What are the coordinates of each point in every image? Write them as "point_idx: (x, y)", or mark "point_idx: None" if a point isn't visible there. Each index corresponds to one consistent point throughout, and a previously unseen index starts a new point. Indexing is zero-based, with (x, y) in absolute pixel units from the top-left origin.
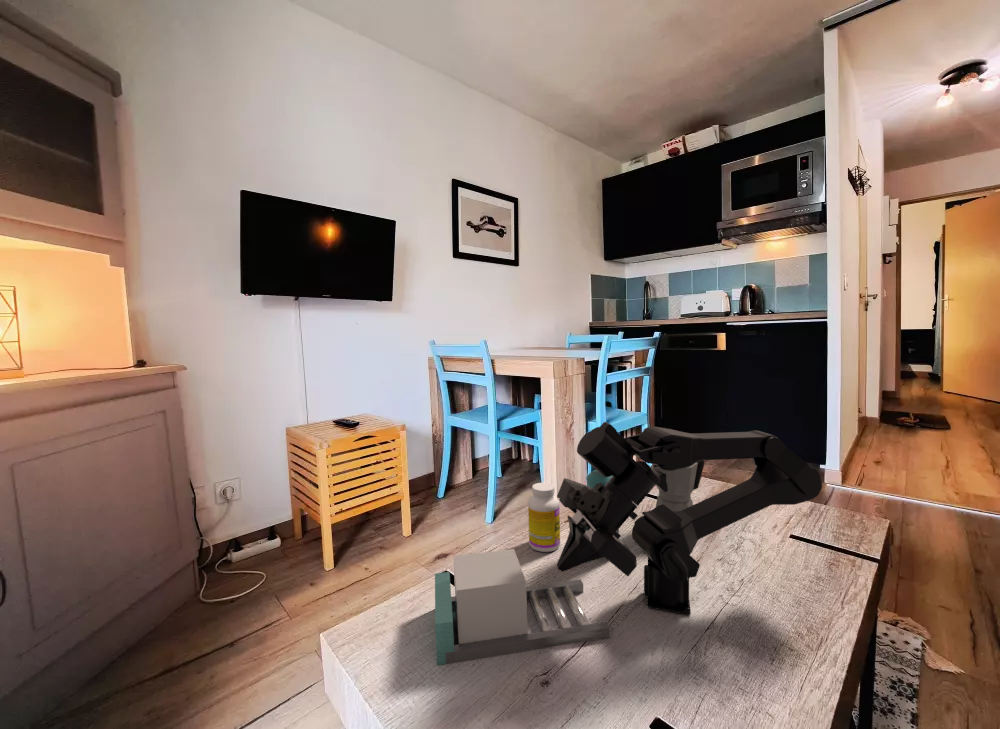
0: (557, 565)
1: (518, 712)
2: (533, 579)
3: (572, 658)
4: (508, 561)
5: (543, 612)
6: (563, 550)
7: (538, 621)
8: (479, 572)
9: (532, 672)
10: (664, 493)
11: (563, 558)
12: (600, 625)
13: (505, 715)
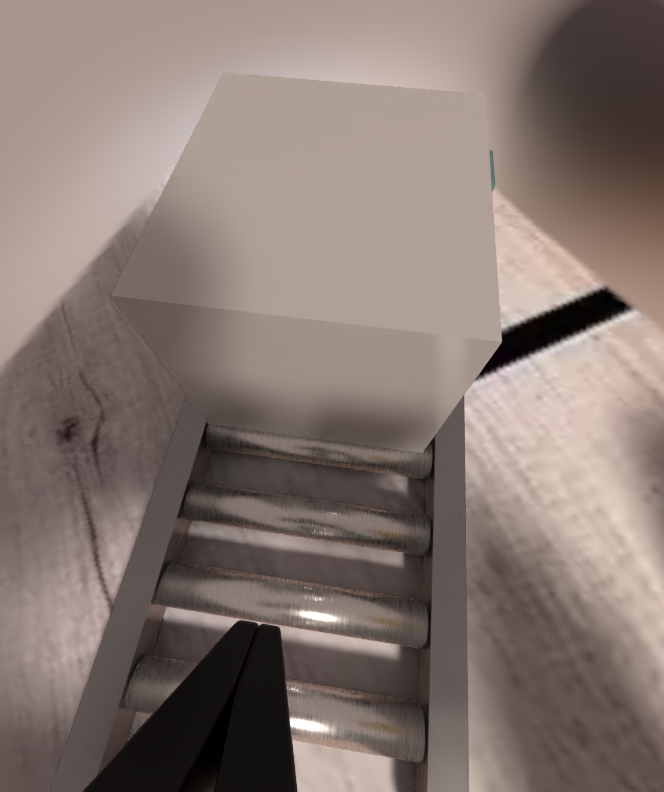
0: (258, 627)
1: (42, 345)
2: (565, 599)
3: (89, 551)
4: (354, 272)
5: (286, 523)
6: (270, 772)
7: (263, 492)
8: (307, 145)
9: (118, 412)
10: None
11: (200, 701)
12: (83, 760)
13: (55, 320)
